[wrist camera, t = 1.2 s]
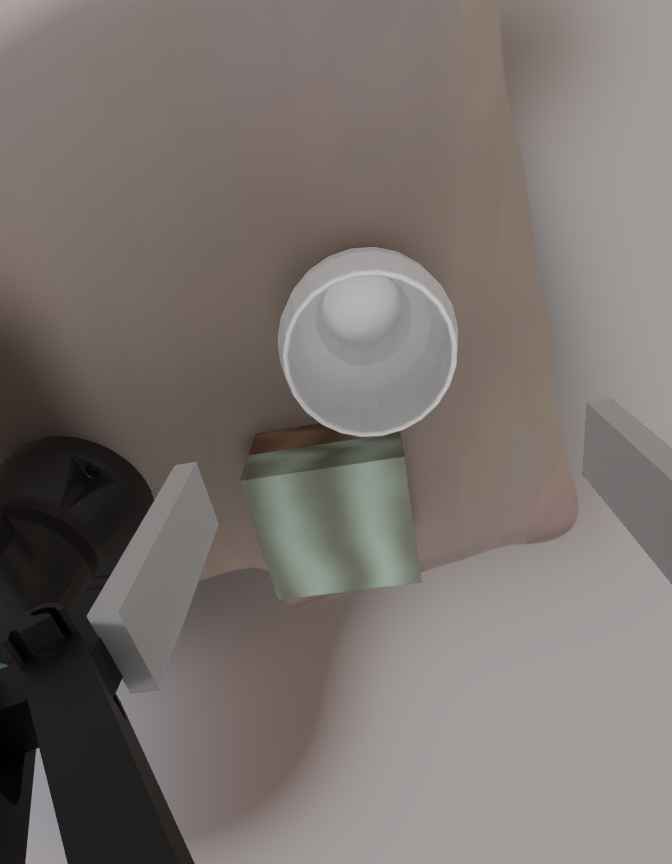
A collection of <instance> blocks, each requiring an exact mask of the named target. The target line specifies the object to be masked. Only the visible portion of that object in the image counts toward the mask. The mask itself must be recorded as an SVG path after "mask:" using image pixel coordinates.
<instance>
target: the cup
mask: <svg viewBox="0 0 672 864" xmlns="http://www.w3.org/2000/svg"><path fill="white" fill-rule="evenodd" d="M277 342H278V350H279V358H280V364H281V367H282V369H283V372H284V375H285V377H286V380H287V382H288V385H289V387H290V389H291V392H292V394H293V396H294V397H295V399H296V400H297V401H298V403H299V404H300V405H301V406H302V408H303V409H304V410H305V412H306V413H308V414H309V415H310V416H312V417H313V418H314V419H315V420H317V421H318V422H319V423H321V424H322V425H324V426H326V427H328V428H331V429H333V430H335V431H337V432H340V433H343V434H349V435H354V436H360V437H370V436H384V435H387V434H391V433H394V432H398V431H401V430H404V429H406V428H408V427H409V426H411V425H413V424H415V423H416V422H418V421H420V420H422V419H423V418H424V417H425V416H426V415H427V414H428V413H429V412H430V411H431V410H433V409H434V408H435V407H436V406H437V405H438V404H439V402H440V400H441V399H442V397H443V396H444V394H445V393H446V391H447V390H448V388H449V386H450V384H451V380H452V377H453V374H454V371H455V368H456V364H457V345H458V326H457V322H456V317H455V313H454V308H453V305H452V304H451V302H450V300H449V298H448V296H447V295H446V293H445V291H444V289H443V287H442V286H441V285H440V284H439V282H438V281H437V280H436V279H435V278H434V277H433V276H432V275H431V274H429V273H428V272H427V271H426V270H425V269H424V268H423V267H422V266H421V265H420V264H419V263H418V262H416V261H414V260H412V259H411V258H409V257H407V256H405V255H403V254H401V253H399V252H397V251H392V250H387V249H383V248H378V247H364V248H350V249H348V250H345V251H342V252H339V253H337V254H334V255H331V256H328V257H327V258H325V259H324V260H322V261H321V262H320V263H318V264H317V265H315V266H314V267H312V268H311V269H310V270H308V272H307V273H306V274H305V275H304V276H303V278H302V279H301V280H300V281H299V283H298V284H297V285H296V286H295V287H294V289H293V291H292V293H291V295H290V297H289V300H288V302H287V304H286V306H285V309H284V311H283V313H282V316H281V319H280V326H279V332H278V339H277Z"/></svg>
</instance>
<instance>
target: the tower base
mask: <svg viewBox="0 0 672 864" xmlns="http://www.w3.org/2000/svg"><path fill="white" fill-rule="evenodd" d="M240 482H241V485H242V488H243V491H244V495H245V498H246V501H247V504H248V507H249V510H250V513H251V516H252V520H253V523H254V526H255V529H256V532H257V535H258V538H259V541H260V545H261V548H262V551H263V554H264V557H265V560H266V563H267V567H268V570H269V573H270V576H271V579H272V582H273V585H274V588H275V592H276V595H277V598H278V600H282V599H290V598H298V597H306V596H314V595H323V594H331V593H339V592H347V591H355V590H363V589H370V588H379V587H387V586H395V585H403V584H410V583H418V582H421V574H420V567H419V560H418V552H417V545H416V537H415V530H414V522H413V515H412V507H411V500H410V492H409V485H408V477H407V470H406V462H405V456H404V451H403V447H402V442H401V438H400V433H399V431H398V432H394V433H391V434H387V435H384V436H370V437H360V436H354V435H349V434H343V433H340V432H337V431H335V430H333V429H331V428H328V427H326V426H324V425H322V424H317V425H310V426H304V427H298V428H291V429H285V430H279V431H272V432H266V433H260V434H256V436H255V439H254V442H253V445H252V448H251V450H250V453H249V456H248V459H247V462H246V465H245V468H244V471H243V474H242V477H241V480H240Z"/></svg>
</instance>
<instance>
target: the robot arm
mask: <svg viewBox="0 0 672 864" xmlns="http://www.w3.org/2000/svg"><path fill="white" fill-rule="evenodd" d="M582 473H583V475H584V477H585V478H586V479H587V480H588V481H589V483H590V484H591V485H592V486H593V488H594V489H595V490H596V491H597V493H598V494H599V495H600V496H601V497H602V499H603V500H604V501H605V502H606V504H607V505H608V506H609V507H610V509H611V510H612V511H613V512H614V514H615V515H616V516H617V517H618V518H619V520H620V521H621V522H622V523H623V525H624V526H625V527H626V528H627V529H628V531H629V532H630V533H631V534H632V536H633V537H634V538H635V539H636V541H637V542H638V543H639V544H640V546H641V547H642V548H643V549H644V550H645V552H646V553H647V554H648V555H649V556H650V558H651V559H652V560H653V562H654V563H655V564H656V565H657V566H658V568H659V569H660V570H661V571H662V573H663V574H664V575H665V576H666V578H667V579H668V580H669V581H670V582H671V584H672V448H671V447H670V446H669V445H667V444H666V443H665V442H664V441H663V440H661V439H660V438H659V437H658V436H656V435H655V434H654V433H653V432H651V431H650V430H649V429H648V428H647V427H645V426H644V425H643V424H642V423H641V422H639V421H638V420H637V419H635V418H634V417H633V416H632V415H630V413H628V412H627V411H626V410H625V409H623V408H622V407H621V406H620V405H618V404H617V403H616V402H614V400H612V399H605V400H599V401H592V402H587V405H586V422H585V439H584V455H583V472H582ZM218 526H219V524H218V521H217V518H216V515H215V512H214V510H213V507H212V504H211V501H210V499H209V496H208V493H207V490H206V487H205V485H204V482H203V479H202V476H201V474H200V471H199V468H198V465H197V462H192V463H185V464H179V465H175V466H174V468H173V470H172V471H171V473H170V475H169V476H168V478H167V480H166V482H165V483H164V485H163V487H162V488H161V490H160V492H159V494H158V495H157V497H156V499H155V500H154V502H153V499H152V496H151V493H150V491H149V489H148V487H147V485H146V483H145V482H144V480H143V479H142V478H141V476H140V475H139V474H138V473H137V472H136V470H135V469H134V468H133V467H132V466H131V465H129V464H128V463H127V462H126V461H125V460H123V459H122V458H121V457H119V456H118V455H116V454H115V453H113V452H111V451H110V450H108V449H106V448H104V447H101V446H99V445H97V444H94V443H91V442H88V441H84V440H80V439H75V438H66V437H52V438H45V439H40V440H36V441H33V442H31V443H29V444H26V445H25V446H23V447H21V448H20V449H18V450H17V451H16V452H15V453H14V454H12V455H11V456H10V457H9V458H8V459H6V460H5V461H4V462H3V463H2V464H1V465H0V864H25V859H26V849H27V839H28V827H29V817H30V806H31V796H32V786H33V775H34V764H35V755H36V749H37V748H40V753H41V757H42V761H43V765H44V769H45V773H46V777H47V781H48V785H49V788H50V793H51V797H52V801H53V805H54V809H55V813H56V818H57V822H58V825H59V829H60V834H61V838H62V842H63V846H64V850H65V854H66V858H67V862H68V864H195V863H194V861H193V859H192V857H191V855H190V853H189V850H188V848H187V846H186V844H185V842H184V839H183V837H182V835H181V833H180V831H179V829H178V826H177V824H176V822H175V820H174V818H173V815H172V813H171V811H170V809H169V807H168V804H167V802H166V800H165V798H164V796H163V794H162V791H161V789H160V787H159V785H158V783H157V781H156V779H155V776H154V774H153V772H152V770H151V767H150V765H149V763H148V761H147V759H146V756H145V754H144V752H143V750H142V748H141V745H140V743H139V741H138V739H137V737H136V735H135V732H134V730H133V728H132V726H131V724H130V721H129V719H128V717H127V715H126V713H125V711H124V709H123V706H122V704H121V702H120V700H119V699H118V697H117V695H116V691H117V689H118V686H119V684H120V682H121V680H122V679H123V681H124V682H125V684H126V686H127V688H128V689H129V691H130V693H137V692H146V691H156V690H160V687H161V685H162V681H163V679H164V676H165V673H166V671H167V668H168V665H169V662H170V659H171V657H172V654H173V651H174V648H175V646H176V643H177V640H178V637H179V634H180V631H181V628H182V626H183V623H184V620H185V618H186V615H187V612H188V609H189V607H190V604H191V601H192V598H193V595H194V593H195V589H196V587H197V584H198V581H199V579H200V576H201V573H202V570H203V568H204V565H205V562H206V559H207V556H208V554H209V551H210V548H211V545H212V542H213V540H214V537H215V534H216V531H217V529H218Z"/></svg>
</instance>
